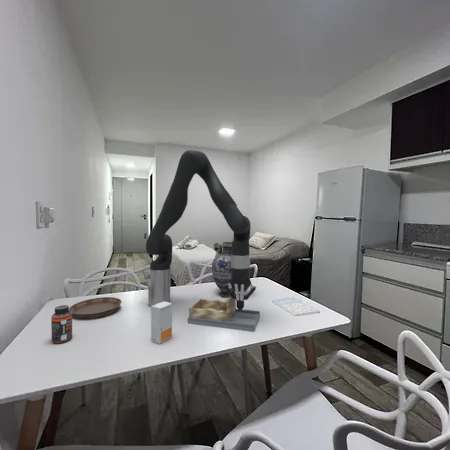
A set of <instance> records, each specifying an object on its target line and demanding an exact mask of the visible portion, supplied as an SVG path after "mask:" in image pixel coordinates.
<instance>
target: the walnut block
mask: <svg viewBox="0 0 450 450" xmlns="http://www.w3.org/2000/svg"><path fill="white" fill-rule="evenodd" d="M220 309H225V310H226V312H227V304H226V303H222V304H221V306H220Z"/></svg>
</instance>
